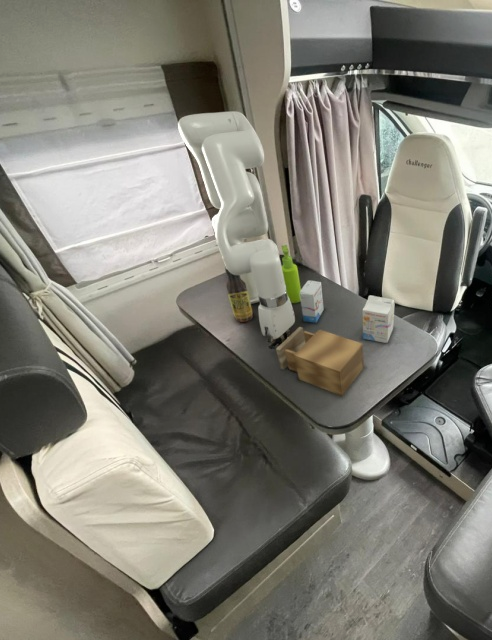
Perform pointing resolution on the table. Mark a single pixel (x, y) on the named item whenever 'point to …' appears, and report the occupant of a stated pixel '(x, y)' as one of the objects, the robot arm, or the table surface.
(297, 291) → the soap dispenser
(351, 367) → the cabinet
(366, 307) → the ink box
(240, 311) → the sauce bottle
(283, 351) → the drawer
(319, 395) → the table surface
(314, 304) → the ink box
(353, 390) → the table surface
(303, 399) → the table surface
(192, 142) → the robot arm
